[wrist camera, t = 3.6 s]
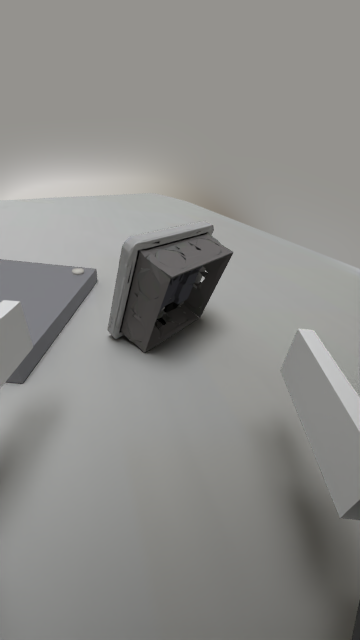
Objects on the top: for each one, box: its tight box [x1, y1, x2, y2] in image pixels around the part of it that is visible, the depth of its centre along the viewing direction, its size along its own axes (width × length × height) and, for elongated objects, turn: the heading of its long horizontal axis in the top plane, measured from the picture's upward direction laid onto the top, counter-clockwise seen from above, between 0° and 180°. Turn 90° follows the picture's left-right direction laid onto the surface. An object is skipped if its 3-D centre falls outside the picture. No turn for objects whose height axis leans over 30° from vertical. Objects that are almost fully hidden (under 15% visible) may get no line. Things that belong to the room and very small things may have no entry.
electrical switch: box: [108, 221, 233, 353], centre depth 21 cm, size 9×5×9 cm, turn 140°
